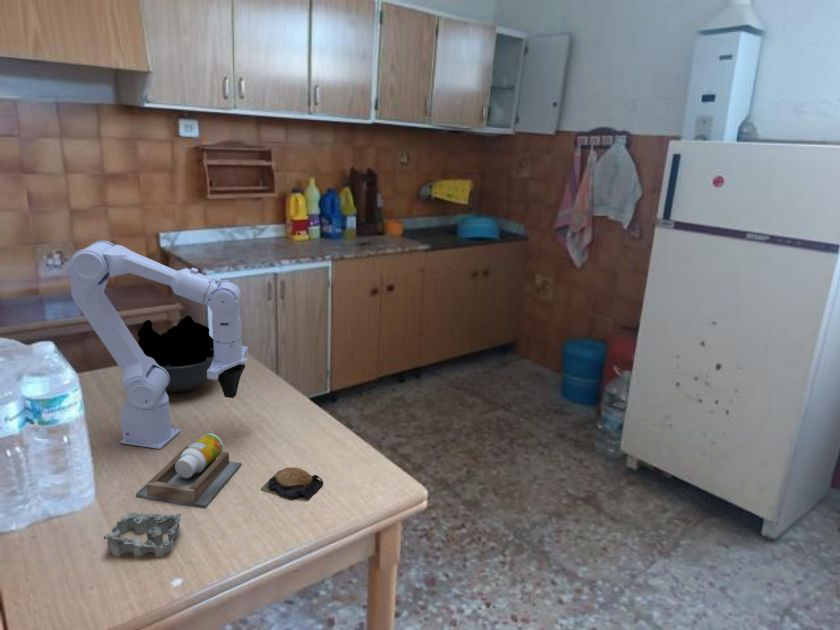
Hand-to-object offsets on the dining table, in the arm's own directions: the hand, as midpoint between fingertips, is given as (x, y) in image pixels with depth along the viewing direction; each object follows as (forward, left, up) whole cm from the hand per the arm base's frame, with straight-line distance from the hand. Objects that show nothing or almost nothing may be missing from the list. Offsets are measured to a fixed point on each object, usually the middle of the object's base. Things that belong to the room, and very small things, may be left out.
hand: (230, 396), depth 128 cm
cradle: (0, -18, -10) cm, 20 cm away
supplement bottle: (0, -9, -7) cm, 11 cm away
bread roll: (+20, -14, -11) cm, 27 cm away
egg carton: (+2, -35, -10) cm, 37 cm away
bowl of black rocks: (-24, +19, -10) cm, 32 cm away
